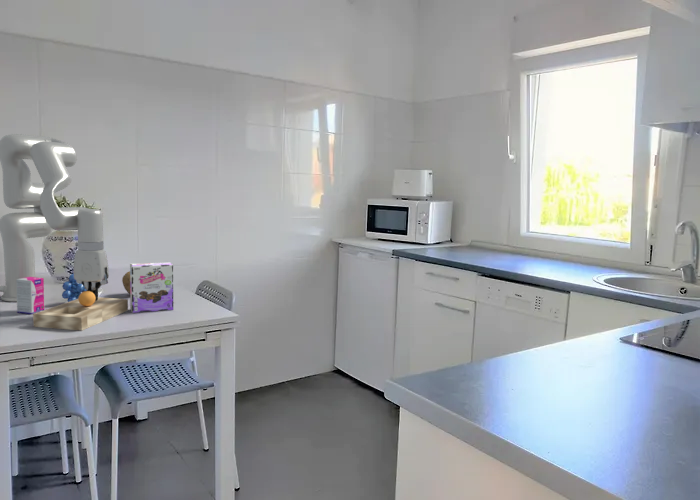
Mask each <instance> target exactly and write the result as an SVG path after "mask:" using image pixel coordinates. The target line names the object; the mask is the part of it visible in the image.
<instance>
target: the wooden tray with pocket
mask: <svg viewBox="0 0 700 500" xmlns="http://www.w3.org/2000/svg"><path fill="white" fill-rule="evenodd" d="M128 311H129V299H128V298H127V299H126V298H113V297H102V296H101V297H100V296H98V300H97V301H95V302H94V303H93V304H92V305H91V306H83V305H81V304H80V303H79V300H78V299H76V300H73V301H70V302H68V301H67V302H64V303H62V304H58V305H55V306H52V307H50V308H46V309H44V310H43V311H40V312H37V313H34V314H32V319H33V320H32V321H33V328H45V329H57V330H71V331H85V330H86V329H89V328H92V327H94V326H96V325H98V324H100V323H103V322H105V321H107V320H110V319H112V318H114V317H116V316H119V315H121V314H123V313H126V312H128Z"/></svg>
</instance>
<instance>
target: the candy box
mask: <svg viewBox="0 0 700 500" xmlns="http://www.w3.org/2000/svg"><path fill="white" fill-rule="evenodd" d="M129 271H130V294H129V295H130V299H129V300H130V302H129V303H130V304H129V306H130V311H131V313H132V314H133V313H134V314H135V313H148V312H161V311H162V312H163V311H173V310H174V264H173V263H172V262H168V261H167V262H149V263H148V262H147V263H129Z"/></svg>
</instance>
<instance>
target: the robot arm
mask: <svg viewBox="0 0 700 500" xmlns="http://www.w3.org/2000/svg"><path fill="white" fill-rule="evenodd" d="M25 160H31V161H32V162H33V164H34V165H35V168H36V171H37V172H38V175H39V177H40V178H41V181H42V183H41V182H32V179H31V176H32V175H31V170H30V168H29V166H28V164H27V163H26V161H25ZM77 160H78V155H77V152H76V149H75V148H74V147H73V146H72V145H71V144H70V143H68V142H65V141H61V140H59V139H57V138H53V137H49V136H43V135H32V134H22V133H21V134H17V133H16V134H15V133H14V134H13V133H11V134H7V135H4V136H3V137H2V138H0V165H1V168H2V195H3V203H4V205H5V207H7V208H9V209H13V210H14V209H15V210H27V209H33V211H30V212H10V213H9V212H8V213H6V214H4V215H2V217H0V238H1V240H2V247H3V248H2V250H3V263H4V265H3V266H4V278H5V279H4V281H5V282H4V284H5V285H0V292H3V294H2V295H1V296H0V299H1V301H4V302H17V281H16V280H17V279H21V278H26V277H36V260H35V259H36V258H35V257H36V256H35V249H34V247H33V245H32V244H31V243H30V242H29V240H28V239H32V238H33V239H34V238H44V237H48V236H49V235H51V234H52V232H53V230H54V231H56V232H57V231H58V232H62V231H72V230H73V231H76V230H77V242H75V245H74V246H75V247H77V249H78V250H75V253H74V258H73V274H74V279H75V280H76V282H77V283H80V284H82V285H83V286H84V287H85V289H86V290H87V291H91V292H93V293H94V295H95V297H96V299H95V301H97V300H98V297H99V289H100V288H101V286H106V285H108V283H109V280H108V279H109V272H110V270H109V262H108V257H107V252H106V250H105V249H104V247H105V246H104V219H103V218H104V217H103V216H104V215H103V212H102V210H101V209H97V208H88V207H85V206H78V207H77V206H73V207H71V206H69V207H67V206H66V207H65V206H64V207H59V206H58V204H57V201H56V199H55V193H58V192H60V191H62V190H64V189H66V188H68V187H69V186H70V184H71V183H72V177H71V174H70V172H69V170H68V169H67V168H71V167H74V166H75V164H76V163H77Z"/></svg>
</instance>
